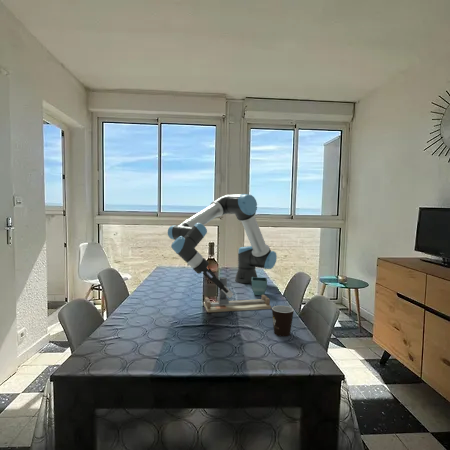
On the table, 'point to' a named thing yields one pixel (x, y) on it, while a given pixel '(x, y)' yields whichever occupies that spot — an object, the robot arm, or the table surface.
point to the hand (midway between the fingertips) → (230, 294)
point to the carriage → (222, 296)
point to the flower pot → (259, 285)
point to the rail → (238, 305)
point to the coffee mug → (282, 320)
